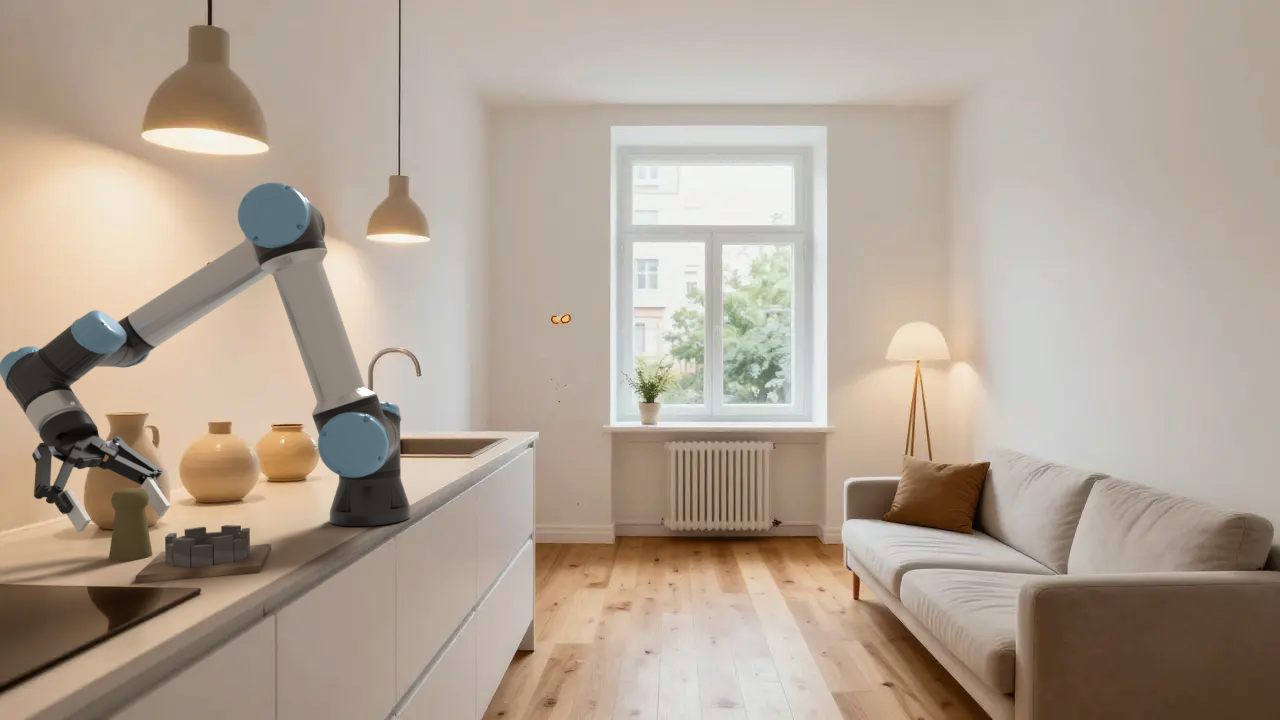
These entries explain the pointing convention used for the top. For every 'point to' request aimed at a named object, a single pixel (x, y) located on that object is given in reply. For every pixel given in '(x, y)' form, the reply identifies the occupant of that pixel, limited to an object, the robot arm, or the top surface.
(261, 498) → the top surface
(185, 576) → the collar
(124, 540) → the cork
